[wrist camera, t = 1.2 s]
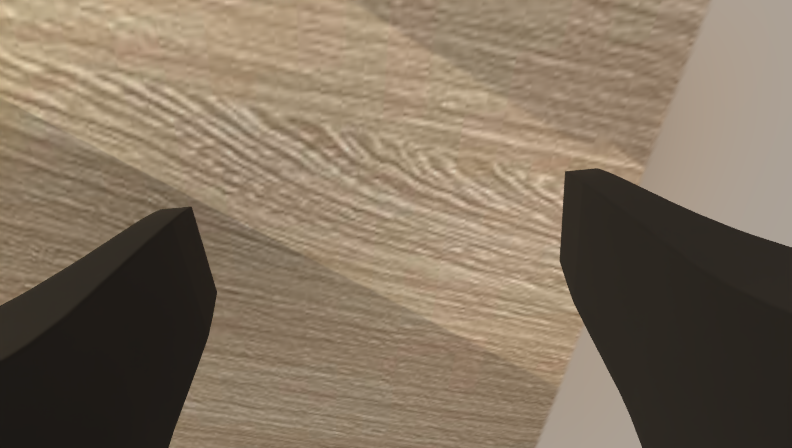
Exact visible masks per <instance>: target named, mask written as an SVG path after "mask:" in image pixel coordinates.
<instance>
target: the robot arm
mask: <svg viewBox="0 0 792 448" xmlns="http://www.w3.org/2000/svg"><path fill="white" fill-rule="evenodd" d="M560 263H561V266H562V269H563V273H564V276H565V279H566V282H567V285H568V288H569V291H570V294H571V296H572V299H573V302H574V304H575V306H576V308H577V310H578V312H579V314H580V316H581V318H582V320H583V322H584V324H585V326H586V328H587V330H588V332H589V334H590V336H591V338H592V340H593V342H594V344H595V345H596V348H597V350H598V351H599V353H600V355H601V357H602V359H603V361H604V363H605V365H606V367H607V369H608V371H609V373H610V375H611V377H612V379H613V380H614V382H615V384H616V386H617V388H618V390H619V392H620V394H621V396H622V399H623V401H624V403H625V405H626V407H627V409H628V412H629V414H630V417H631V419H632V422H633V424H634V427H635V430H636V432H637V435H638V438H639V440H640V443H641V445H642V448H792V247H788V246H785V245H782V244H779V243H776V242H773V241H769V240H766V239H764V238H760V237H757V236H754V235H751V234H748V233H745V232H743V231H740V230H737V229H735V228H731V227H729V226H727V225H724V224H722V223H719V222H717V221H715V220H712V219H709V218H707V217H705V216H702V215H700V214H697V213H695V212H693V211H691V210H688V209H686V208H684V207H682V206H679V205H677V204H675V203H673V202H671V201H668V200H667V199H664V198H662V197H660V196H658V195H656V194H654V193H652V192H650V191H648V190H646V189H644V188H641V187H639V186H637V185H635V184H633V183H631V182H629V181H627V180H625V179H623V178H620V177H618V176H616V175H614V174H611V173H609V172H606V171H604V170H601V169H586V170H576V171H565V183H564V200H563V216H562V232H561V248H560ZM216 295H217V291H216V287H215V284H214V281H213V277H212V274H211V270H210V267H209V264H208V260H207V257H206V254H205V250H204V247H203V243H202V240H201V237H200V233H199V230H198V227H197V223H196V220H195V217H194V213H193V210H192V207H183V208H173V209H162V210H159V211H156V212H154V213H152V214H150V215H148V216H147V217H145V218H143V219H142V220H140V221H138V222H137V223H135V224H133V225H132V226H130V227H129V228H127V229H126V230H124V231H123V232H121V233H120V234H118V235H116V236H115V237H113V238H112V239H110V240H109V241H107V242H106V243H104V244H103V245H101V246H100V247H98V248H97V249H95V250H94V251H92V252H91V253H89V254H87V255H86V256H84V257H83V258H81V259H80V260H78V261H77V262H75V263H73V264H72V265H70V266H68V267H67V268H65V269H63V270H62V271H60V272H59V273H57V274H55V275H54V276H52V277H50V278H49V279H47V280H45V281H44V282H42V283H40V284H39V285H37V286H36V287H34V288H32V289H30V290H29V291H27V292H25V293H23V294H21V295H20V296H18V297H16V298H14V299H12V300H10V301H9V302H7V303H5V304H3V305H1V306H0V448H168V447H169V444H170V441H171V438H172V435H173V432H174V429H175V426H176V424H177V421H178V418H179V416H180V413H181V410H182V407H183V405H184V402H185V399H186V397H187V394H188V391H189V389H190V386H191V383H192V380H193V378H194V375H195V372H196V370H197V367H198V364H199V361H200V359H201V356H202V353H203V350H204V347H205V344H206V342H207V339H208V336H209V331H210V327H211V322H212V317H213V312H214V307H215V301H216Z"/></svg>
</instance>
